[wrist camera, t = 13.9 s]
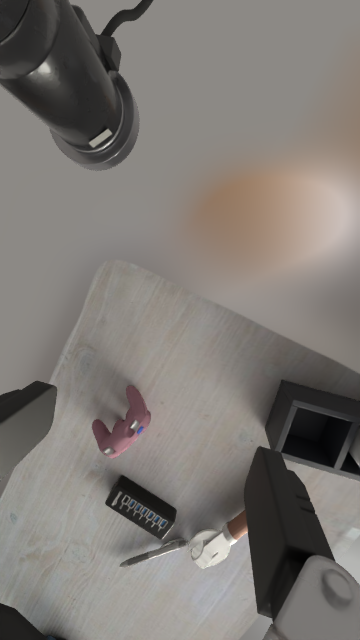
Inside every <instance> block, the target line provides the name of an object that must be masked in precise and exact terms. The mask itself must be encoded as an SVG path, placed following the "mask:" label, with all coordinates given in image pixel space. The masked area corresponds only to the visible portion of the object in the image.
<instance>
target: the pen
mask: <svg viewBox="0 0 360 640" xmlns="http://www.w3.org/2000/svg"><path fill="white" fill-rule="evenodd" d="M174 541H176V542H175V543H172V544H169V545H166V544H168V543H171V542H174ZM187 544H188V541H186V540H185V539H183V538H178V539H175V540H172V541H169V542H167V543H165V544H164V545H162V546H161V548H159V549H156V550H153V551H150V552H147V553H144V554H141V555H139V556H136V557H133V558H130V559H128V560H126V561H124V562H122V563H121V564H120V567H128V566H132V565H135V564H138V563H141V562H143V561H146V560H149V559H152V558H154V557H157V556H160V555H163V554H165V553H168V552H171V551H174V550H177V549H180V548H183V547H184V546H186V545H187ZM165 545H166V546H165Z"/></svg>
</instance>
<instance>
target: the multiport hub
mask: <svg viewBox="0 0 360 640" xmlns="http://www.w3.org/2000/svg"><path fill="white" fill-rule="evenodd" d="M105 504H106V505H107V506H109V507H110V508H112V509H113V510H115V511H116V512H118V513H120V514H121V515H123V516H124V517H126V518H127V519H129V520H130V521H132V522H134V523H135V524H137V525H138V526H140V527H141V528H143V529H145V530H146V531H148V532H149V533H151V534H152V535H154V536H155V537H157V538H159V539H163V538H164V537H165V536H166V534H167V533H168V532H169V531H170V529H171V528H172V527H173V525H174V524H175V518H176V512H177V510H176V509H175V508H173V507H172V506H170V505H169V504H167V503H166V502H164V501H162V500H161V499H159V498H158V497H156V496H155V495H153V494H151V493H150V492H148V491H147V490H145V489H144V488H142V487H140V486H139V485H137V484H136V483H134V482H133V481H131V480H129V479H128V478H126V477H125V476H120V478H119V479H118V481H117V482H116V484H115V485H114V487H113V488H112V490H111V491H110V493H109V496H108V498H107V500H106V502H105Z"/></svg>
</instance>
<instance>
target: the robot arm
mask: <svg viewBox="0 0 360 640" xmlns="http://www.w3.org/2000/svg"><path fill="white" fill-rule="evenodd" d="M152 1H153V0H142V1H141V2H140V3H139V4H138V5H137V6H136V7H135V8H134V9H131V10H122V11H120V12H118V13H117V14H116V15H115V16H114V17H113V18H112V19H111V20H110V21H109V23H108V24H107V26H106V27H105V29H104V30H103V32H102V33H101V35H97V34H95V33H94V31H93V29H92V27H91V26H90V24H89V22H88V20H87V18H86V16H85V14H84V12H83V10H82V9H81V8H80V7H79V6H76V5H71V4H70V2H69V1H68V0H0V86H1V87H2V88H4V89H5V90H6V91H7V92H8V93H9V94H11V95H12V96H13V97H14V98H15V99H16V100H18V101H19V102H20V103H21V104H22V105H23V106H25V107H26V108H27V109H28V110H29V111H31V112H32V113H33V114H34V115H35V116H36V117H38V118H39V119H40V120H42V122H43V123H45V124H46V125H47V126H48V127H49V128H51V129H52V130H53V131H54V132H55V133H56V134H57V135H59V136H60V137H61V138H62V139H63V140H64V141H65V142H66V143H67V144H68V145H69V146H70V147H72V148H73V149H75V150H76V151H78V152H81V153H85V154H95V153H99V152H102V151H104V150H106V149H107V148H109V147H110V146H111V145H112V144H113V143H114V142H115V141H116V139H117V138H118V136H119V134H120V133H121V130H122V127H123V123H124V116H125V110H124V103H123V99H122V96H121V94H120V92H119V90H118V78H117V76H116V74H115V72H114V71H117V72H118V71H119V64H120V59H121V52H120V50H119V48H118V45H117V43H116V41H115V39H114V38H113V37H111V35H112V34H113V32H114V31H115V30H116V28H117V27H118V26H119V25H120V24H122V23H123V22H125V21H134V20H136V19H138V18H139V17H140V16H141V15H142V14H143V13H144V12H145V11H146V10H147V9H148V7H149V6H150V5H151V3H152ZM56 396H57V387H56V386H54V385H50V384H47V383H44V382H40V381H35V382H33V383H32V384H30V385H28V386H27V387H25V388H24V389H22V390H19V389H18V390H15V391H11V392H8V393H5V394H2V395H1V396H0V481H1V480H2V479H3V478H4V477H5V476H6V475H7V474H8V473H9V472H10V471H11V470H12V469H13V468H14V467H15V466H16V465H17V464H18V463H19V462H20V461H21V460H22V459H23V458H24V457H25V456H26V455H27V454H28V453H29V452H30V451H31V450H32V449H33V448H34V447H35V446H36V445H37V444H38V443H39V442H40V441H41V440H42V439H43V438H44V437H45V436H46V435H47V434H48V432H49V430H50V428H51V426H52V423H53V418H54V411H55V404H56ZM244 503H245V512H246V520H247V528H248V537H249V545H250V553H251V562H252V570H253V578H254V587H255V595H256V603H257V612H258V614H261V615H264V616H267V617H270V618H272V620H273V624H271V625H270V627H269V629H268V631H267V632H266V634H265V636H264V638H263V640H360V585H359V584H358V583H357V582H356V580H355V579H354V578H353V577H352V576H351V575H350V574H349V573H348V572H347V571H346V570H345V569H344V568H343V567H342V566H340V565H339V564H338V563H336V562H335V559H334V557H333V554H332V552H331V549H330V547H329V544H328V542H327V539H326V537H325V534H324V532H323V530H322V527H321V525H320V522H319V520H318V517H317V515H316V514H315V510H314V507H313V505H312V502H310V497H309V495H308V493H307V490H306V488H305V485H304V484H303V483H302V481H301V480H300V479H299V478H298V476H297V475H296V474H295V472H294V471H290V470H287V468H286V465H285V462H284V460H283V457H282V454H281V453H280V452H278V451H275V450H271V449H268V448H264V447H261V446H259V447H258V448H257V450H256V453H255V456H254V459H253V462H252V465H251V467H250V470H249V473H248V476H247V479H246V483H245V488H244ZM0 640H48V639H47V638H46V637H45V636H44V635H43V634H42V633H41V632H39V631H38V630H37V629H36V628H35V627H34V626H33V625H32V624H31V623H30V622H29V621H28V620H27V619H26V618H25V617H24V616H22V615H21V614H20V613H19V612H18V611H17V610H16V609H15V608H12V607H9V606H7V605H4V604H1V603H0Z"/></svg>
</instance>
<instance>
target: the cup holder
mask: <svg viewBox="0 0 360 640" xmlns="http://www.w3.org/2000/svg"><path fill="white" fill-rule="evenodd" d="M359 424H360V401H358V400H354V399H350V398H347V397H343V396H339V395H336V394H332V393H328V392H325V391H321V390H317V389H314V388H310V387H307V386H303V385H299V384H296V383H292V382H288V381H285V380H282V381H281V384H280V387H279V390H278V392H277V395H276V398H275V401H274V404H273V407H272V410H271V413H270V415H269V418H268V421H267V424H266V427H265V431H266V435H267V438H268V441H269V445H270V448H271V450H275V451H278V452H280V453H281V454H282V457H283V459H286V460H289V461H292V462H296V463H299V464H302V465H306V466H309V467H312V468H316V469H319V470H322V471H326V472H329V473H332V474H336V475H339V476H342V477H346V478H349V479H352V480H356V481H359V482H360V467H359V465H358V464H357V463H356V461H355V460H354V459H353V457H352V456H351V454H350V453H349V452H348V450H349V447H350V445H351V443H352V441H353V438H354V436H355V434H356V431H357V429H358V427H359Z"/></svg>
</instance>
